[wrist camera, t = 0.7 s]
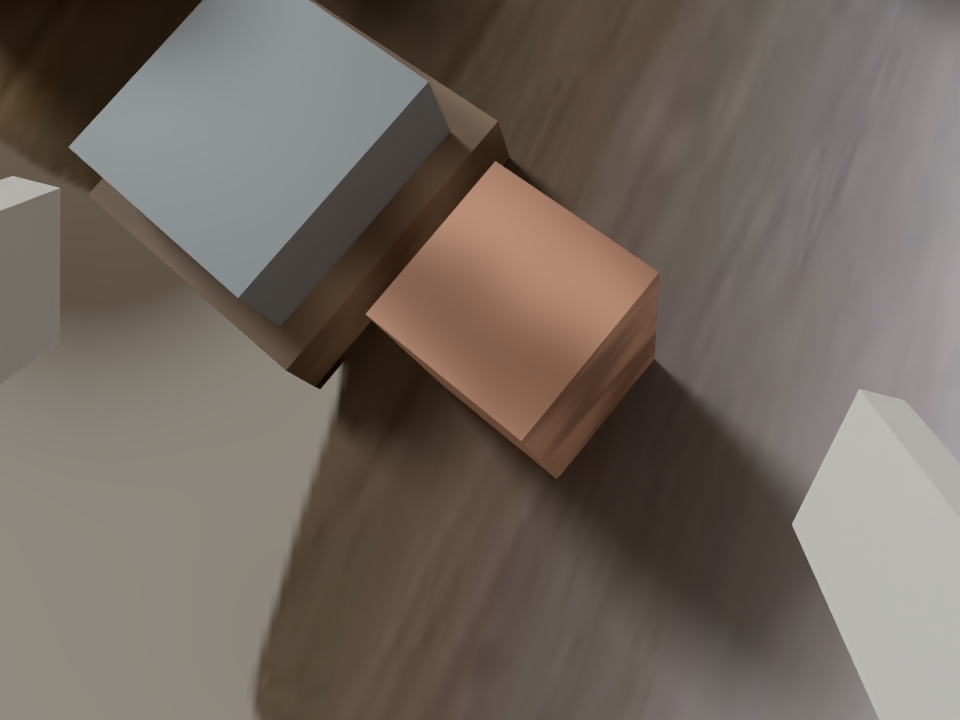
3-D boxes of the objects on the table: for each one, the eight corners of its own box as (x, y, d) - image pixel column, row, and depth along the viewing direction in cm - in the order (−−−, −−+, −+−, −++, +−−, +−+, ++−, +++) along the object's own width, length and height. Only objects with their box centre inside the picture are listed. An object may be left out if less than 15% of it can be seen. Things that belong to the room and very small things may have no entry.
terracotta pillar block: (535, 273, 38) (495, 160, 28) (654, 359, 36) (659, 272, 25) (442, 385, 38) (365, 314, 27) (557, 479, 35) (521, 441, 25)
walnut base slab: (311, 28, 45) (281, -21, 41) (511, 163, 40) (497, 121, 37) (135, 227, 44) (87, 195, 40) (320, 389, 39) (285, 370, 36)
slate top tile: (280, 13, 41) (243, -45, 37) (450, 131, 37) (428, 81, 33) (123, 187, 40) (68, 146, 36) (280, 326, 36) (237, 298, 32)
